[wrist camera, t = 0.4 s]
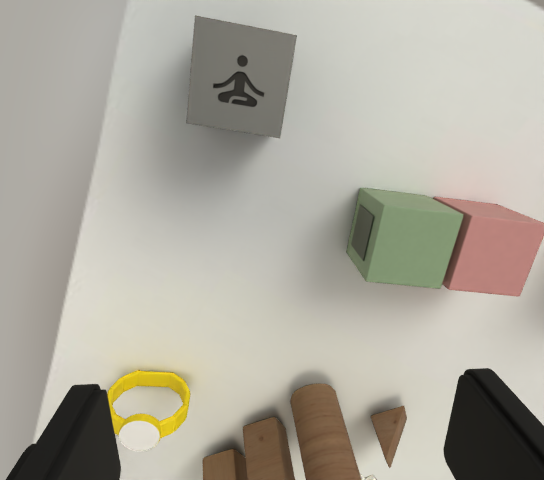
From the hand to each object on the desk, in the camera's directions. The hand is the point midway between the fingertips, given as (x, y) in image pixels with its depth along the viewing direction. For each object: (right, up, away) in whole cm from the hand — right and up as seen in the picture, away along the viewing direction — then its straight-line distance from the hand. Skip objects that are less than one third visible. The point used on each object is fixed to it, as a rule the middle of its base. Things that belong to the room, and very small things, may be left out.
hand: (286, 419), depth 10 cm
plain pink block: (+13, +5, +18) cm, 23 cm away
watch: (-10, -6, +21) cm, 24 cm away
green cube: (+8, +6, +18) cm, 20 cm away
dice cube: (-2, +15, +14) cm, 20 cm away
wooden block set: (+2, -11, +24) cm, 26 cm away
